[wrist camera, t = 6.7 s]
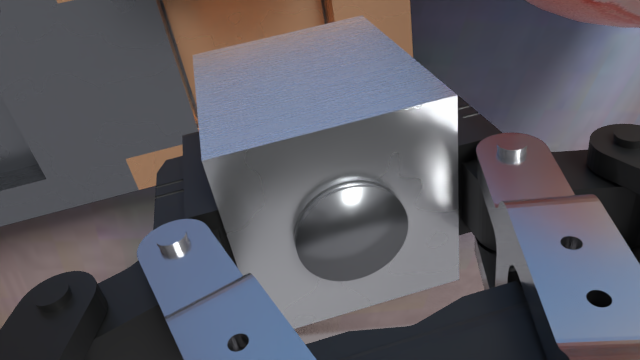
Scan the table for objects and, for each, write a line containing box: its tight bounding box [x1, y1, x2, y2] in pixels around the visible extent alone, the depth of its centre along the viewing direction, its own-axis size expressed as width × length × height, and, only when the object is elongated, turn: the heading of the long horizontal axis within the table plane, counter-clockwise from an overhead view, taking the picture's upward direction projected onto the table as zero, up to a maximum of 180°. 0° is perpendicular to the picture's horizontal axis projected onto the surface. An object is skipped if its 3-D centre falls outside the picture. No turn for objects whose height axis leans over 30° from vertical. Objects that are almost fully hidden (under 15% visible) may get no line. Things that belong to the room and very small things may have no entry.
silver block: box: [192, 15, 459, 329], centre depth 12 cm, size 4×4×6 cm
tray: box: [0, 0, 413, 227], centre depth 19 cm, size 24×9×2 cm, turn 100°
